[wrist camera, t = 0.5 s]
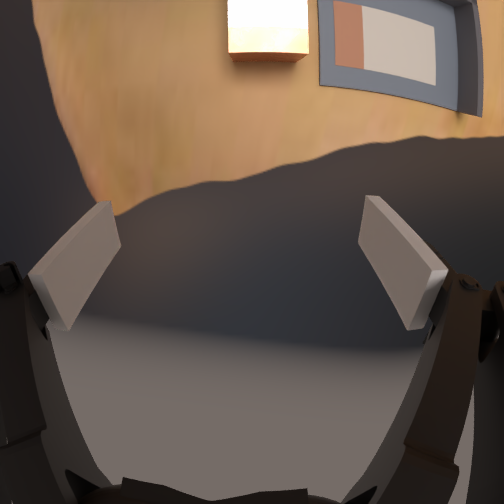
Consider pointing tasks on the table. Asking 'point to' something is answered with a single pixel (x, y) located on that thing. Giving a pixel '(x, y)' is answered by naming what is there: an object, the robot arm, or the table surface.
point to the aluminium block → (267, 30)
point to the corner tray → (404, 49)
